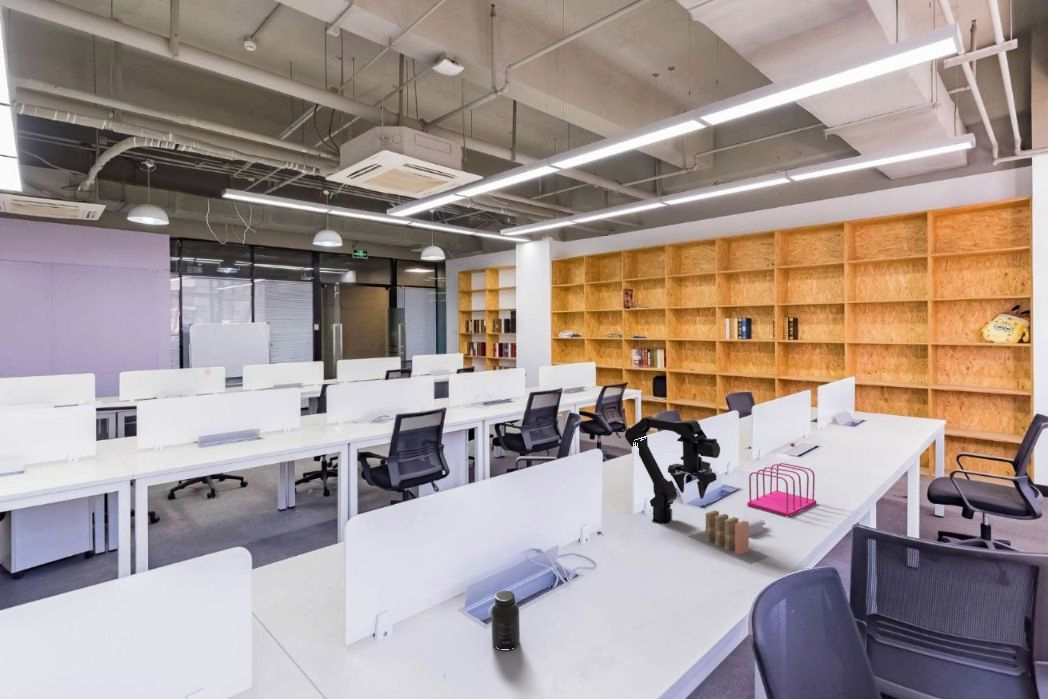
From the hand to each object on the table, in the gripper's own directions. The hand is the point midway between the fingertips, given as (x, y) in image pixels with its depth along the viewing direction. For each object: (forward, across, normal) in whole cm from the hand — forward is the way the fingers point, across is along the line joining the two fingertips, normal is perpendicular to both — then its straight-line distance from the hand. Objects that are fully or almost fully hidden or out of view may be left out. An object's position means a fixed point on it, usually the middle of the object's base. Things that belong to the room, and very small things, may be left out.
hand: (691, 495), depth 196 cm
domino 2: (+13, -15, +3) cm, 20 cm away
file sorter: (+14, -2, -53) cm, 55 cm away
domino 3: (+13, -19, +3) cm, 23 cm away
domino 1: (+13, -11, +3) cm, 17 cm away
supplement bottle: (+13, -24, +94) cm, 98 cm away
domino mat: (+14, -17, +3) cm, 22 cm away
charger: (+14, -11, -18) cm, 25 cm away
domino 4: (+13, -23, +3) cm, 27 cm away
